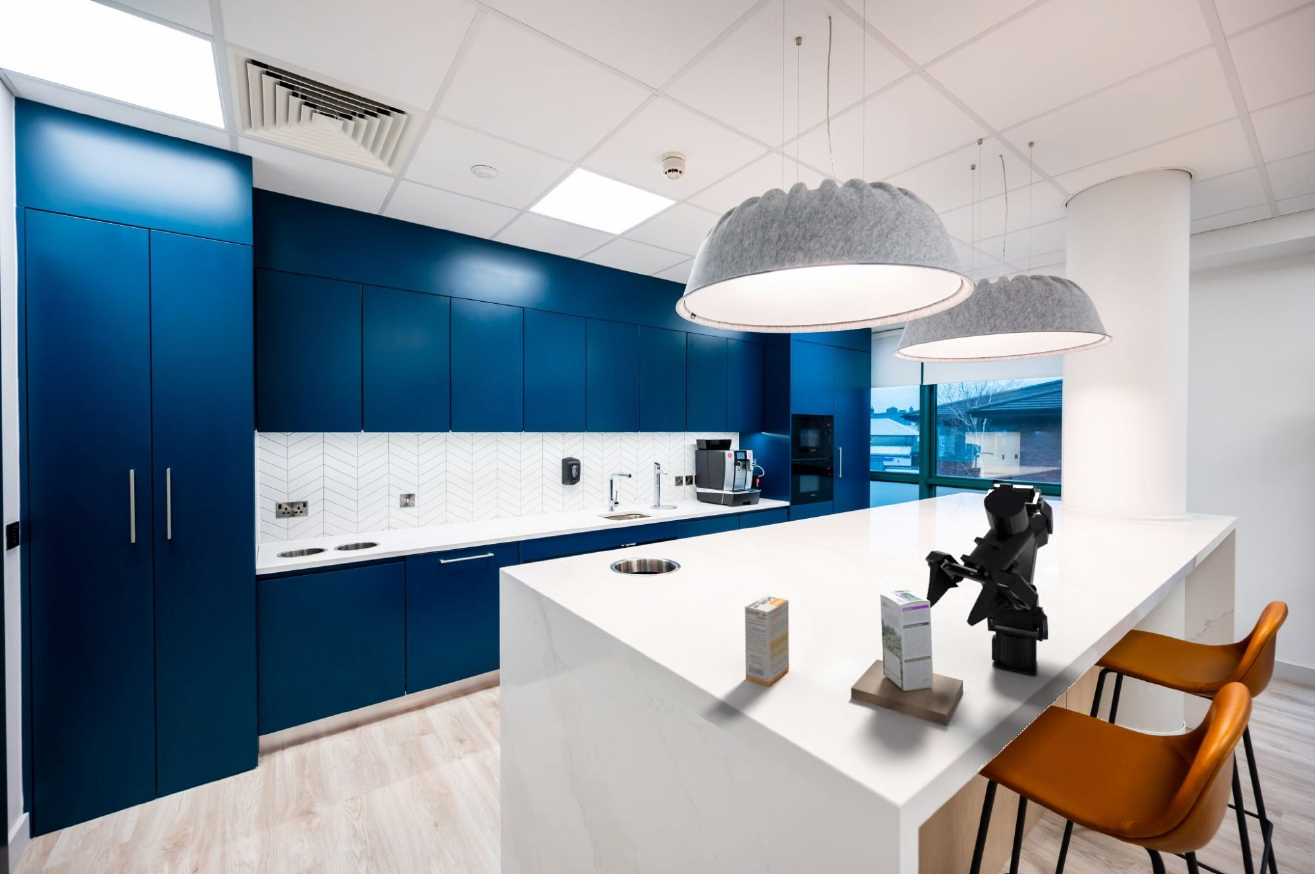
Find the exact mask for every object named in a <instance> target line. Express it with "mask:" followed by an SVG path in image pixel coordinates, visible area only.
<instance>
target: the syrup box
mask: <svg viewBox="0 0 1315 874" xmlns="http://www.w3.org/2000/svg"><path fill="white" fill-rule="evenodd" d="M879 597H880V620H881V621H880V623H881V641H882V643H881V644H882V645H881V647H882V661H883V671H884V676H885V677H887V678H888V679H889V680H890V681H892V682H893V683H894V684H896V685H897V686H898V687H899V688H901V689H902V690H903V691H910V690H917V689H923V688H929V687H933V673H934V672H933V670H934V669H933V668H934V667H933V644H932V641H933V640H932V618H931V617H932V615H931V608H930V601H929V600H927V598H925V597H923V596H920V595H919V594H917V593H915V592H912V591H911V590H907V589H905V590H894V591H888V592H884V593H883V592H882V593H880V596H879Z"/></svg>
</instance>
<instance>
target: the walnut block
mask: <svg viewBox="0 0 1315 874" xmlns="http://www.w3.org/2000/svg"><path fill="white" fill-rule="evenodd" d="M963 691H964V680H962V679H958V678H954V677H951V676H946V675H943V674H942V675H941V674H939V673H934V672H933V687H929V688H923V689H917V690H910V691H903V690H902V689H901V688H899V687H898V686H897V685H896V684H894V683H893V682H892V681H890V680H889V679H888V678H887V677H885V676H884V671H883V659H878V658H877V659H876V660H875V661H873V663H872V664H871V665H870V666H869V667H868V668H867V670H866V671H865V672H863V674H862V675H861V676H860V677H859V678H858V679H857V681H856V682H855V683H854V684H852V686H851V688H850V698H851V699H853V700H857V701H861V702H864V703H867V704H871V705H874V706H877V707H881V708H884V709H887V710H890V711H893V712H897V713H899V714H900V713H901V714H904V715H907V716H910V717H914V718H917V719H919V720H923V721H927V722H930V723H933V724H937V725H940V724H941V725H940V726H944V727H947V726H948V724H949V722H950V719H951V717H952V716H953V713H954V712H955V708H956V707H957V705H958V703H959V700H960V698H961V696H962V694H963Z"/></svg>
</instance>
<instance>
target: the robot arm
mask: <svg viewBox="0 0 1315 874" xmlns="http://www.w3.org/2000/svg"><path fill="white" fill-rule="evenodd" d="M983 499H984V500H983V507H984V510H985V514H986V518H987V521H988V525H989V527H990V528H989V530H988V531H987V532H986V534H985V535H984V536H983V537H980V536H976V537H975V538H974V539H973V542H974V543H975V544H976V547H974V549H973V550H972V551H971V553H970V554H965V553H962V554H961V556H960V557H959V559H960V560H961V562H963V564H960V563H959V562H958V561H957V559H955V558H954V556H953V555H952V554H950V553H948V552H943V551H940V550H931V551H930V552H929V553H928V554H927V556H926V557H925V559H924V560H925V561H926V562H927V566H928V567H929V580H928V588H927V594H926V599H927V600H929V601H930V609H932V608H933V607H934V606H935V605H936V604H937V603H938V602H939V601H940V600H941V599H942V597H943V596H944V595H945V594H946V593H947V592H948V591H949V589H954V588H955V589H956V588H959V585H958V583H961V582H963V581H964V579H968V580H969V581H974V582H977V583H979V584H981V587H982V588H981V590H980V592H979V594H978V596H977V598H976V599H975V602H974V604H973V606H972V608H971V609H970V612H969V613H968V618H967V620H966V623H967V624H968V625H969V626H971V627H973V626H975V625H977V624H979V623H981V622H982V621H984V620H986V622H987V631H988V632H994V633H995V634H993V635H992V637H991V660H992V661H994V663H993V667H994V668H998V669H1002V670H1007V671H1011V672H1016V673H1021V674H1025V675H1029V674H1030V676H1034V677H1036V676H1035V675H1037V676H1038V666H1039V665H1038V661H1037V660H1038V659H1037V657H1038V651H1037V650H1038V644H1037V643H1038V641H1039V642H1043V641H1047V640H1049V621H1048V620H1049V619H1048V615H1046V614H1045V611H1044V607H1043V606H1040V599H1039V597H1040V596H1039V593H1038V589H1037V587H1036V585H1035V584H1034V577H1035V571H1036V562H1037V555H1038V549H1040V548H1042V547H1044V546H1046V545H1048V543H1049V537H1050V535H1053V533H1054V518H1053V517H1054V516H1053V507H1052V506H1051V505H1050V504H1049V503H1048V502H1047V501H1046V500H1045V499H1044V498H1043V497H1042V491H1041V489H1040V488H1039V489H1038V488H1037V487H1036V486H1035V485H1025V484H1012V483H995V484H993V485H992V489H988V491H987V494H986V496H985V497H984V498H983Z"/></svg>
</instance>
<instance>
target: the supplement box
mask: <svg viewBox="0 0 1315 874" xmlns="http://www.w3.org/2000/svg"><path fill="white" fill-rule="evenodd" d="M789 602H790V601H789V599H786V598H781V597H776V596H772V595H765V596H763V597H760V598H758V599H757V600H756V601H755V600H754V601H753V602H752V603H749V604H747V605H746V606H744V623H745V625H744V626H745V627H744V628H745V629H744V631H745V635H744V636H745V638H744V639H745V642H744V643H745V645H744V646H745V650H744V652H745V679H746V680H748V681H751V682H755V683H757V684H761V685H763V686H766V687H769V686H771V685H772V684H773V683H775V682H776V681H777V680H778V679H779V678H781V677H782V676H783V675H785V674H786V673H787V672H788V671H789V670H790V654H789V653H790V651H789V650H790V648H789V647H790V643H789V640H790V639H789V637H790V636H789V635H790V634H789V633H790V632H789V630H790V629H789V628H790V627H789V624H790V623H789V616H790V615H789V609H790V608H789V605H790V604H789Z"/></svg>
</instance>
